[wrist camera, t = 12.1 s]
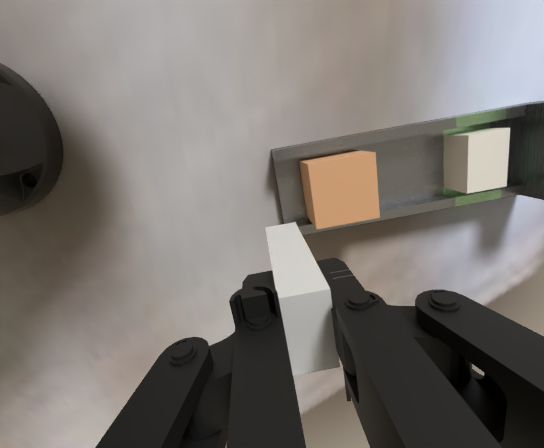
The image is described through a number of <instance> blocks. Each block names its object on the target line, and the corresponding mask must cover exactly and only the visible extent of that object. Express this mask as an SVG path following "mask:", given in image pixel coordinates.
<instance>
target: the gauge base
mask: <svg viewBox="0 0 544 448" xmlns="http://www.w3.org/2000/svg"><path fill="white" fill-rule="evenodd" d="M485 128H510V141H509V156H508V172H507V186H506V187H500V188H495V189H490V190H484V191H479V192H473V193H468V194H467V193H463V192H459V191H455V190H451V189H447V188H444V135H449V134H455V133H460V132H466V131H471V130H477V129H485ZM353 150H361V151H369V152H376V166H377V181H378V196H379V211H380V218H376V219H370V220H365V221H360V222H354V223H349V224H344V225H338V226H333V227H328V228H322V229H316V228H315V227H314V225H313V224H312V222H311V221H310V219H309V218H308V217H307V213H306V206H305V199H304V192H303V185H302V178H301V171H300V164H299V160H304V159H309V158H315V157H320V156H326V155H331V154H336V153H342V152H347V151H353ZM271 152H272V158H273V164H274V170H275V175H276V181H277V187H278V193H279V199H280V205H281V211H282V217H283V223H284V224H287V223H293V222H296V224H297V226H298V228H299V230H300V232H301V234H302V235H306V234H311V233H317V232H322V231H327V230H333V229H338V228H343V227H349V226H354V225H360V224H365V223H370V222H376V221H381V220H386V219H392V218H397V217H402V216H408V215H413V214H419V213H424V212H429V211H435V210H440V209H445V208H451V207H456V206H461V205H467V204H472V203H478V202H483V201H488V200H494V199H499V198H504V197H510V196H515V195H524V196H528V197H533V198H538V199H542V200H544V101H537V102H529V103H523V104H518V105H512V106H507V107H501V108H496V109H490V110H485V111H479V112H474V113H468V114H463V115H457V116H452V117H446V118H441V119H435V120H430V121H424V122H419V123H413V124H408V125H402V126H397V127H392V128H386V129H381V130H375V131H370V132H364V133H359V134H353V135H348V136H342V137H337V138H331V139H326V140H320V141H315V142H309V143H304V144H298V145H293V146H287V147H282V148H276V149H271Z"/></svg>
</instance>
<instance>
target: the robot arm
mask: <svg viewBox="0 0 544 448" xmlns="http://www.w3.org/2000/svg"><path fill="white" fill-rule="evenodd" d="M62 155H63V153H62V141H61V136H60V132H59V129H58V126H57V123H56V121H55V118H54V116H53V114H52V112H51V111H50V109H49V107H48V106H47V104H46V103H45V101H44V100H43V98H42V97H41V96H40V95H39V93H38V92H37V91H36V90H35V89H34V88H33V87H32V86H31V85H30V84H29V83H28V82H27V81H26V80H25V79H24V78H22V77H21V76H20V75H19V74H17V73H16V72H14V71H13V70H11V69H10V68H8V67H6V66H5V65H3V64H1V63H0V216H2V215H6V214H10V213H13V212H16V211H19V210H23V209H25V208H28V207H30V206H32V205H34V204H36V203H37V202H39V201H40V200H42V199H43V198H44V197H45V196H46V195H47V194H48V193H49V192H50V190H51V189H52V188H53V186H54V185H55V183H56V181H57V179H58V176H59V173H60V170H61V165H62ZM266 234H267V240H268V247H269V253H270V259H271V265H272V271H267V272H262V273H256V274H251V275H248V276H247V277H246V279H245V280H244V281H243V286H242V289H240V290H238V291H237V292H235V293H234V294H233V295H232V296H231V298H230V301H229V302H230V307H231V311H232V315H233V319H234V323H235V332H234V333H233V334H232V335H230V336H229V337H228V338H226V339H224V340H222V341H220V342H218V343H215V344H213V345H211V346H209V345H208V342H207V341H206V340H204V339H203V338H199V337H190V338H185V339H182V340H179V341H177V342H175V343H174V344H172V345H171V346H169V347H168V348H166V349H165V350H164V351H163V353H162V354H161V355H160V356H159V357H158V359H157V360H156V362H155V363H154V365H153V366H152V367H151V369H150V370H149V372H148V373H147V375H146V376H145V377H144V379H143V380H142V382H141V383H140V385H139V386H138V387H137V389H136V390H135V392H134V393H133V395H132V396H131V397H130V399H129V400H128V402H127V403H126V405H125V406H124V407H123V409H122V410H121V412H120V413H119V415H118V416H117V417H116V419H115V420H114V422H113V423H112V425H111V426H110V427H109V429H108V430H107V432H106V433H105V435H104V436H103V437H102V439H101V440H100V442H99V443H98V445H97V446H96V447H95V448H225V446H226V442H227V448H306V445H305V439H304V435H303V428H302V423H301V417H300V412H299V406H298V401H297V395H296V390H295V384H294V379H293V376H296V375H301V374H306V373H311V372H316V371H321V370H326V369H332V368H337V367H340V364H339V357H340V360H341V362H342V365H343V370H344V379H345V387H346V395H347V401H351V398H352V401H353V403H354V406H355V409H356V411H357V414H358V417H359V419H360V422H361V424H362V427H363V430H364V432H365V435H366V437H367V440H368V443H369V445H370V448H544V337H543V336H542V335H540V334H538V333H536V332H533V331H532V330H530V329H528V328H526V327H524V326H522V325H520V324H518V323H516V322H514V321H512V320H510V319H508V318H506V317H504V316H502V315H501V314H499V313H497V312H495V311H493V310H491V309H489V308H487V307H485V306H483V305H481V304H479V303H477V302H475V301H473V300H471V299H469V298H467V297H465V296H463V295H461V294H458V293H456V292H452V291H446V290H430V291H425V292H423V293H421V294H419V295H418V296H417V298H416V300H415V306H392V305H387V304H386V303H385V301H384V300H383V299H382V298H381V297H380V296H378V295H377V294H375V293H372V292H369V291H365V290H364V288H363V287H362V285H361V284H360V283H359V281H358V280H357V279H356V277H355V276H354V275H353V273H352V272H351V271H350V270H349V268H348V267H347V265H346V264H345V263H344V262H343V261H341V260H339V259H337V258H331V259H326V260H321V261H315V259H314V257H313V255H312V253H311V251H310V249H309V247H308V245H307V243H306V242H305V240H304V238H303V236H302V234H301V232H300V230H299V228H298V226H297V224H296V222H293V223H287V224H282V225H277V226H271V227H266ZM338 355H339V356H338ZM472 364H474V365H475V366H476V367H478V368H479V369H481V370H482V371H483V372H485V375H484V376H482V375H481V374H479V373H477V372H476V371H474V370H473V369H472Z"/></svg>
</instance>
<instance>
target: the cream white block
mask: <svg viewBox="0 0 544 448" xmlns="http://www.w3.org/2000/svg"><path fill="white" fill-rule="evenodd" d="M509 141H510V128H485V129H477V130H471V131H466V132H460V133H455V134H449V135H444V188H447V189H451V190H455V191H459V192H463V193H467V194H468V193H473V192H479V191H484V190H490V189H495V188H500V187H506V186H507V172H508V156H509Z"/></svg>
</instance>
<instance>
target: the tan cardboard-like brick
mask: <svg viewBox="0 0 544 448" xmlns="http://www.w3.org/2000/svg"><path fill="white" fill-rule="evenodd" d="M299 164H300V171H301V178H302V185H303V192H304V199H305V206H306V213H307V217H308V218H309V219H310V221H311V222H312V224H313V225H314V227H315V228H316V229H322V228H328V227H333V226H338V225H344V224H349V223H354V222H360V221H365V220H370V219H376V218H380V211H379V196H378V181H377V166H376V152H369V151H361V150H353V151H347V152H342V153H336V154H331V155H326V156H320V157H315V158H309V159H304V160H299Z"/></svg>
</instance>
